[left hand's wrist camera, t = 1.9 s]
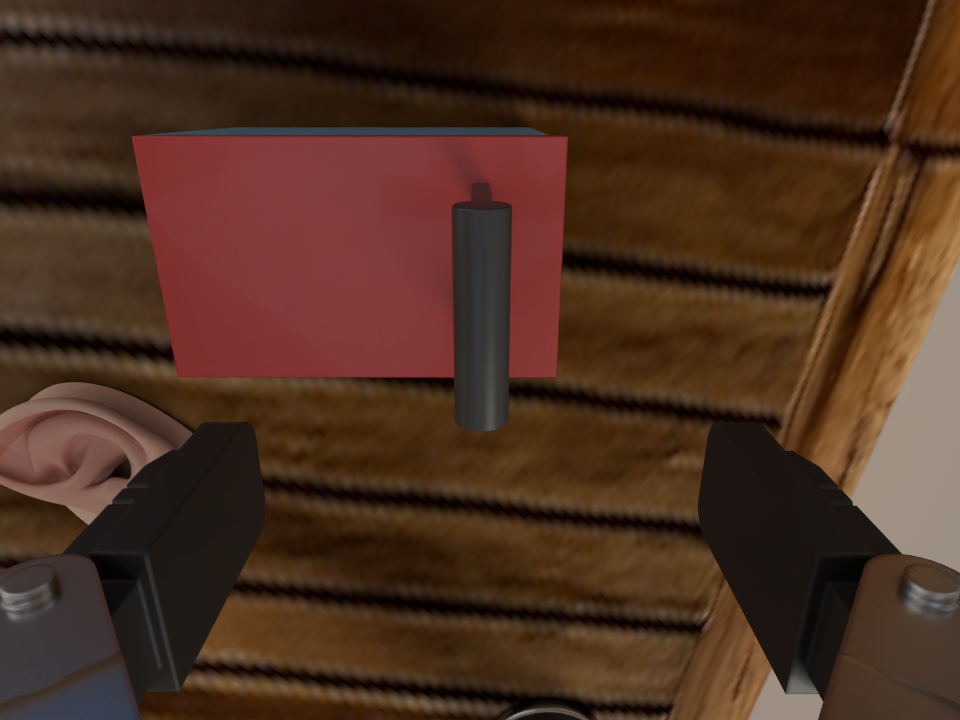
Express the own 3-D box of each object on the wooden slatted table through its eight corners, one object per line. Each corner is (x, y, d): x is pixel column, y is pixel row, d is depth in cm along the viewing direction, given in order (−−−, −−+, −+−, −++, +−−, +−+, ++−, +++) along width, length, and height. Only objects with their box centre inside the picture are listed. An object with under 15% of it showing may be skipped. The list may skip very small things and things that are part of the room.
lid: (565, 135, 25) (607, 148, 17) (554, 370, 28) (584, 475, 20) (141, 134, 25) (-24, 148, 16) (185, 371, 28) (68, 476, 20)
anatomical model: (231, 554, 39) (76, 611, 41) (253, 515, 43) (110, 569, 44) (104, 370, 34) (-65, 443, 36) (140, 345, 38) (-14, 411, 40)
